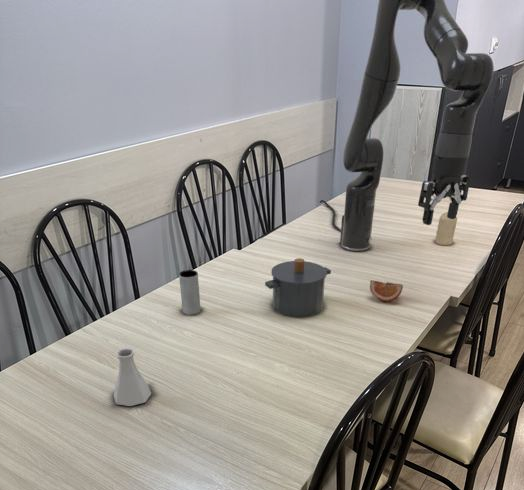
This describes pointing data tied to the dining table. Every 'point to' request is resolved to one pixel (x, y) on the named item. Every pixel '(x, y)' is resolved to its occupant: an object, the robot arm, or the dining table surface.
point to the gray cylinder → (190, 292)
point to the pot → (297, 297)
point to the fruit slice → (385, 290)
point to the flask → (129, 381)
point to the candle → (445, 230)
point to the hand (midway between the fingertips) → (439, 221)
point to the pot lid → (299, 272)
